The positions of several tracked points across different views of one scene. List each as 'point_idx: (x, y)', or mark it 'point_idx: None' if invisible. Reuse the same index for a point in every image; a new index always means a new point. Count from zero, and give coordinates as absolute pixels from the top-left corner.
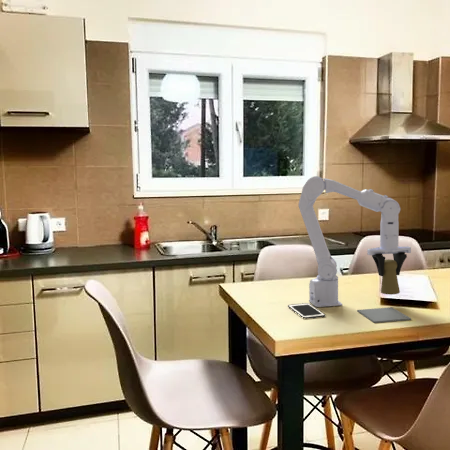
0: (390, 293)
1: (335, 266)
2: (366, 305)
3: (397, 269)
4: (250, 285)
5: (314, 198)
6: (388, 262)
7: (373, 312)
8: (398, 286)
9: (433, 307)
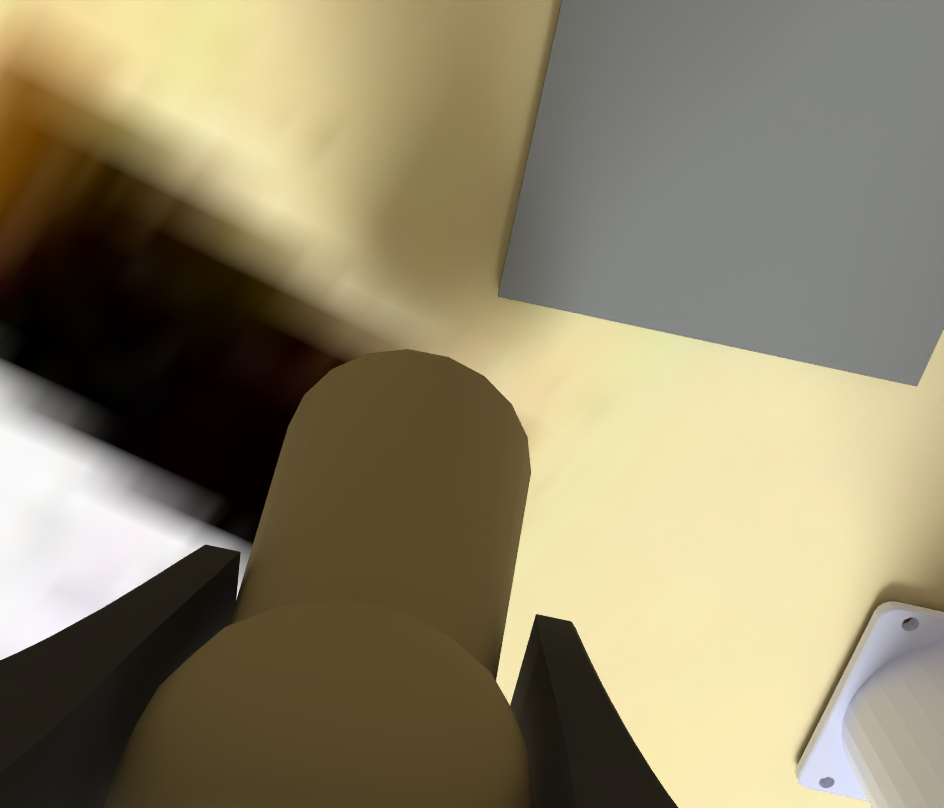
0: (480, 382)
1: None
2: (654, 504)
3: (183, 634)
4: None
5: None
6: None
7: (837, 221)
8: (309, 422)
9: (28, 120)
